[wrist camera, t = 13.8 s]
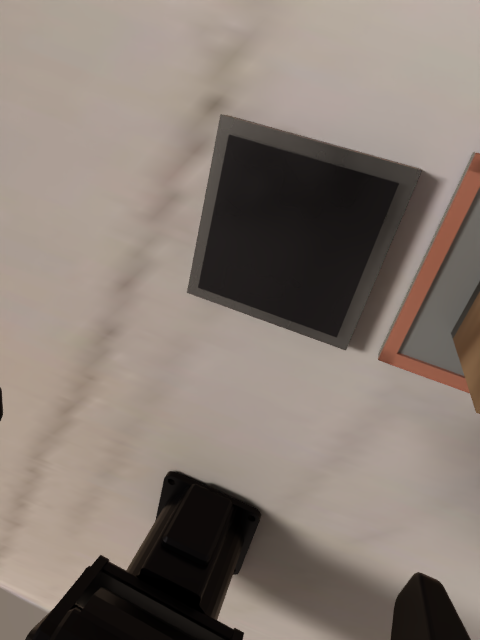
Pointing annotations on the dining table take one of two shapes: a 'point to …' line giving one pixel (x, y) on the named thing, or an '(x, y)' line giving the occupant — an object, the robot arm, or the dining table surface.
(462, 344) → the stamp
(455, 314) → the tile
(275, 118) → the dining table surface
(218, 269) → the pad
